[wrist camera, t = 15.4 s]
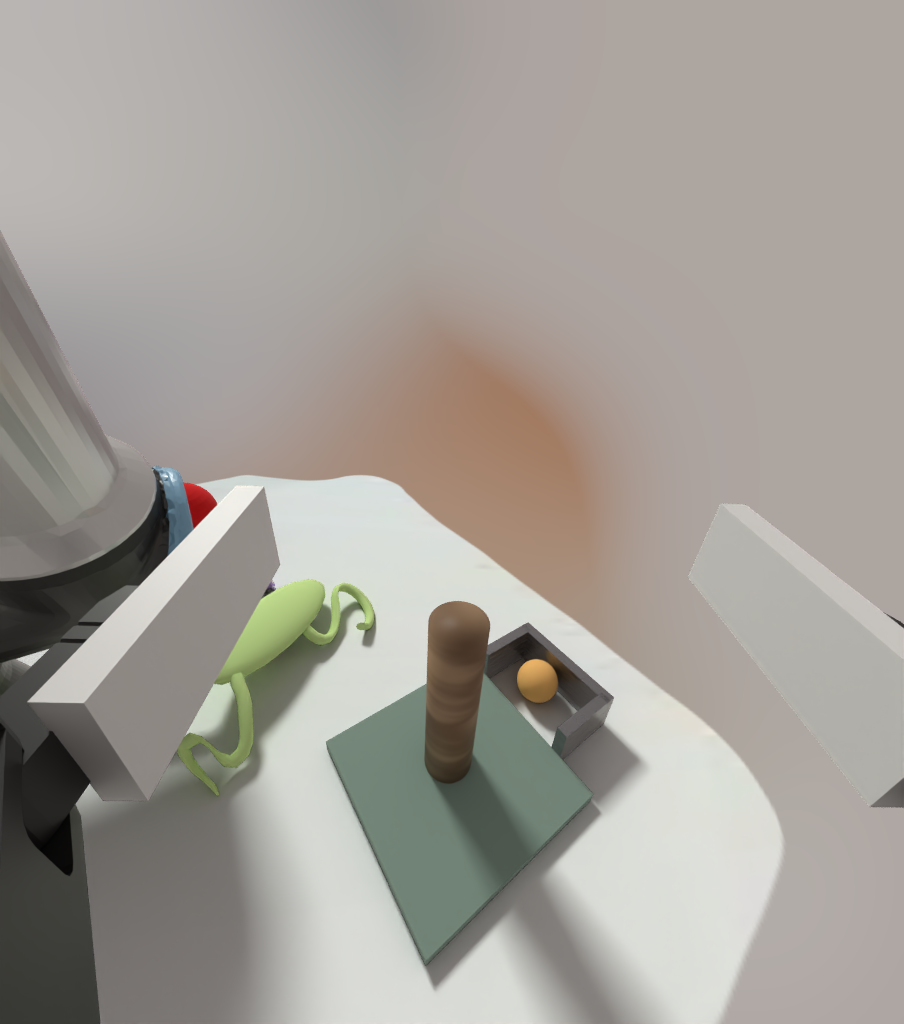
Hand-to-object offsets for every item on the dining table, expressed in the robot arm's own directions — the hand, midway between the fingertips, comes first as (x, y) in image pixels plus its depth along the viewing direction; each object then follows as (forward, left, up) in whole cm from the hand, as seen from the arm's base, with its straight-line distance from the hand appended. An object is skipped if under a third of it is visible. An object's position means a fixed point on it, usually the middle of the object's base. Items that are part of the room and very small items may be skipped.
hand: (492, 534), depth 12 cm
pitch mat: (+5, +6, -30) cm, 31 cm away
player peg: (+5, +7, -29) cm, 30 cm away
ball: (+17, +8, -28) cm, 34 cm away
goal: (+16, +7, -30) cm, 35 cm away
